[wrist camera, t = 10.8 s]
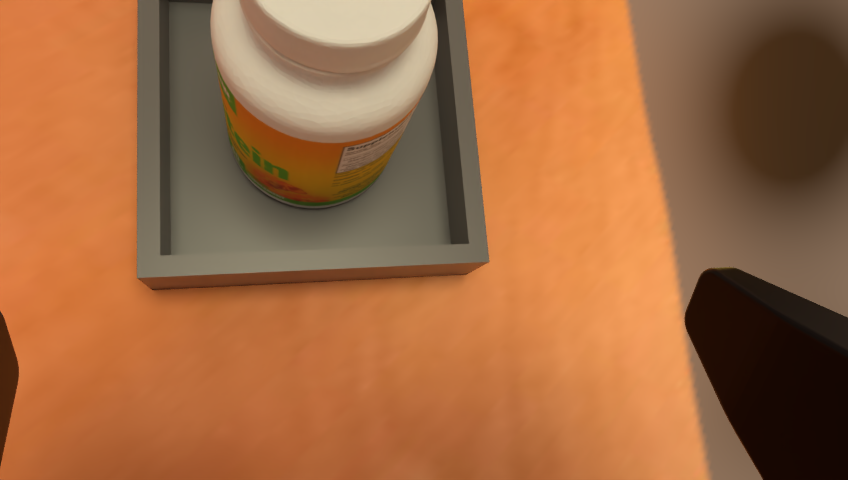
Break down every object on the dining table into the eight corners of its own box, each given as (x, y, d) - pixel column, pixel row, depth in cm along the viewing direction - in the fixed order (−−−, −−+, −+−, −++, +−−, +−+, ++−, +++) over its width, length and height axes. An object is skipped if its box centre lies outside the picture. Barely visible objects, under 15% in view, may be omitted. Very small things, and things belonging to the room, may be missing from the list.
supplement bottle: (195, 110, 21) (132, -102, 12) (330, 34, 23) (367, -206, 14) (292, 243, 21) (306, 132, 12) (421, 156, 23) (524, -3, 13)
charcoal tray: (466, 274, 23) (489, 261, 20) (152, 289, 20) (136, 278, 18) (440, 7, 25) (459, -33, 22) (152, -7, 22) (137, -54, 20)
